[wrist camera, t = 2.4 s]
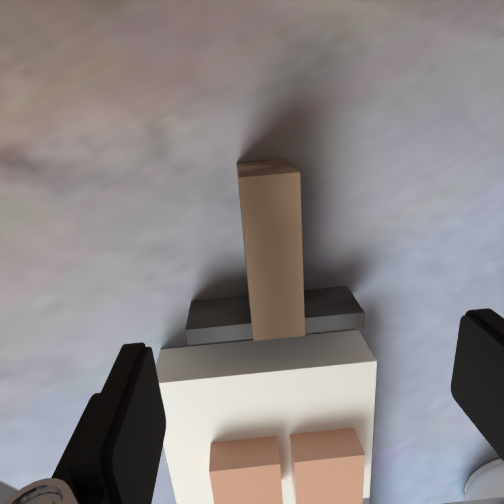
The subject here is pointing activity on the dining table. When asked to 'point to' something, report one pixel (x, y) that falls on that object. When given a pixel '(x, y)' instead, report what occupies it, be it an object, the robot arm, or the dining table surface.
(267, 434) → the board
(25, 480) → the dining table surface
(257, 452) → the tile
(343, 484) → the tile
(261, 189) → the scraper
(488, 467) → the lidded bowl
